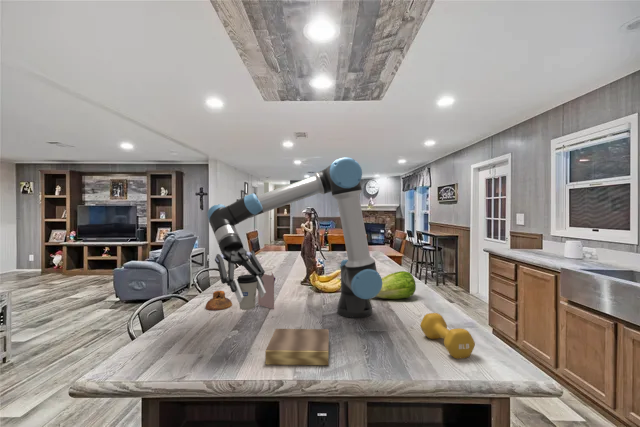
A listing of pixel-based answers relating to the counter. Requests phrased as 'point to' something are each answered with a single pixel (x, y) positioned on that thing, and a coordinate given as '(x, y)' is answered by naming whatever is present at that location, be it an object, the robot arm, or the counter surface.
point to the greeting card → (267, 291)
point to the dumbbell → (448, 336)
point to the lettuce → (397, 286)
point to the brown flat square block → (298, 347)
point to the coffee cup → (247, 291)
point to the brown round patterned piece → (218, 302)
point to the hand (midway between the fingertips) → (252, 297)
